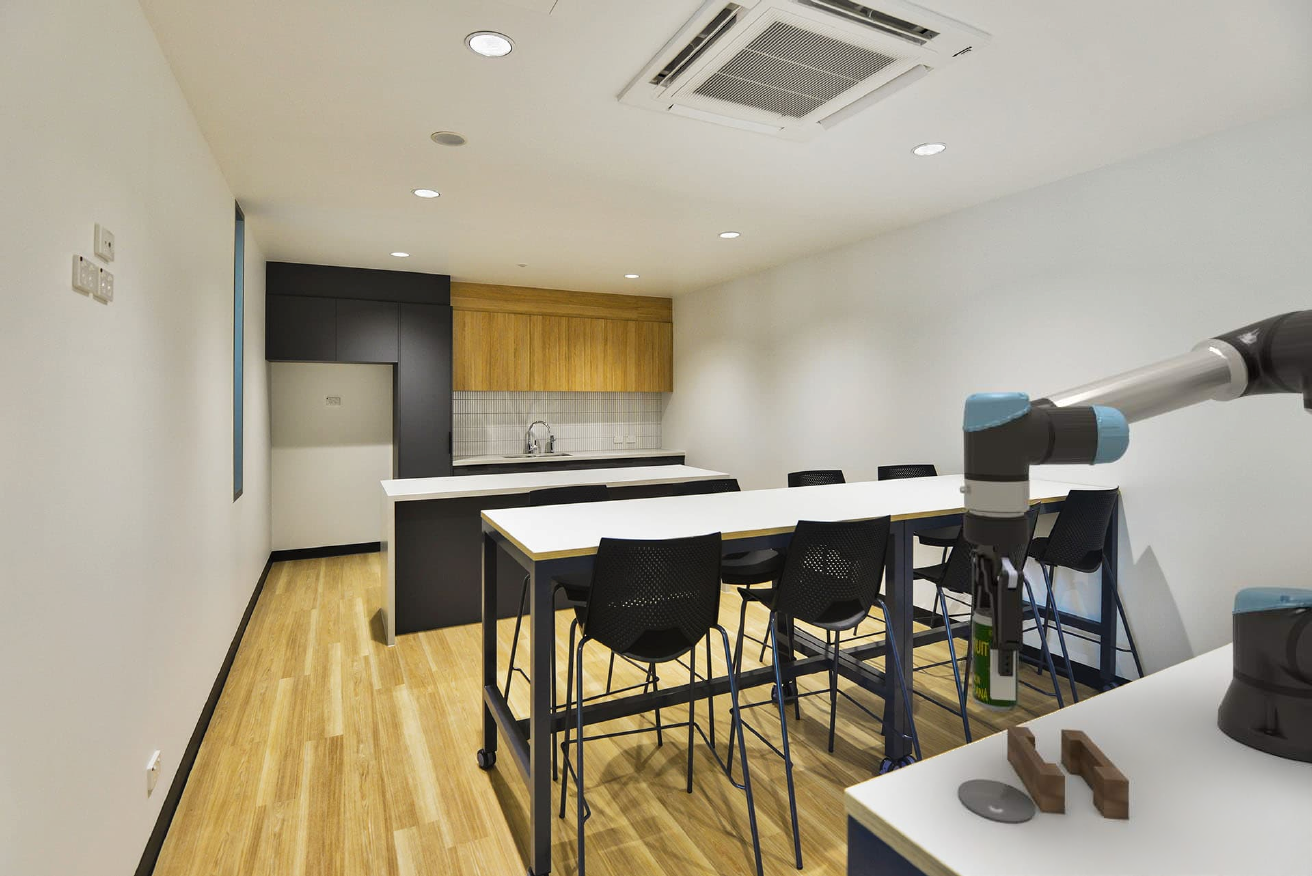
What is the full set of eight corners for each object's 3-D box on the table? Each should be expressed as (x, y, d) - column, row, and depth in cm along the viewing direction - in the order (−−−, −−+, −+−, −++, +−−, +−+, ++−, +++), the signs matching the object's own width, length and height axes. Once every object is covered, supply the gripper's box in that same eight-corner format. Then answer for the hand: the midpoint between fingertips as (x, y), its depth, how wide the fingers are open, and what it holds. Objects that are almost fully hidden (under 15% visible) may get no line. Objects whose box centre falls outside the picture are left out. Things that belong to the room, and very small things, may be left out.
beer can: (1001, 693, 89) (1001, 605, 89) (1027, 711, 84) (1028, 618, 83) (963, 695, 89) (963, 607, 88) (987, 714, 83) (988, 620, 83)
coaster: (1020, 785, 90) (1020, 782, 90) (1046, 826, 82) (1046, 822, 82) (950, 780, 92) (950, 776, 92) (968, 819, 83) (968, 815, 83)
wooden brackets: (1082, 764, 95) (1082, 730, 95) (1128, 819, 83) (1128, 780, 82) (1007, 759, 97) (1007, 725, 97) (1041, 812, 85) (1041, 774, 84)
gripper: (947, 501, 95) (947, 660, 96) (986, 523, 77) (985, 719, 78) (1003, 502, 94) (1002, 663, 95) (1056, 524, 76) (1055, 723, 77)
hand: (995, 688), depth 86 cm, fingers closed on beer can, 5 cm apart
